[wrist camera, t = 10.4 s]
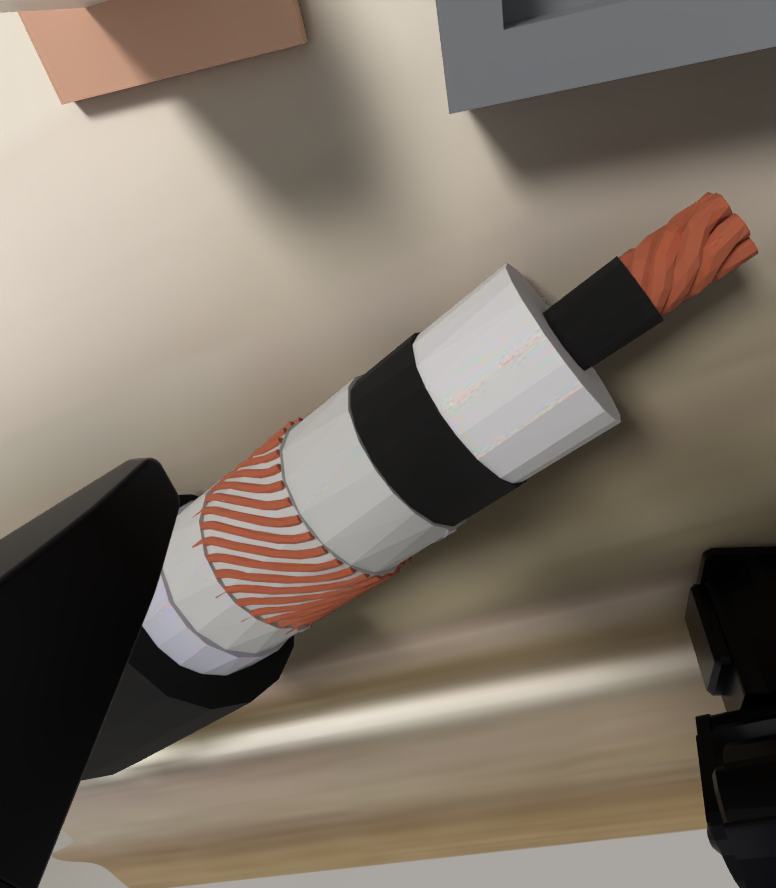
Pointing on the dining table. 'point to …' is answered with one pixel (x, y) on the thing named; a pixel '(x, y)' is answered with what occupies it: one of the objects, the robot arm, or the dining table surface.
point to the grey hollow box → (585, 42)
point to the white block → (44, 4)
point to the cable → (390, 475)
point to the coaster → (154, 40)
